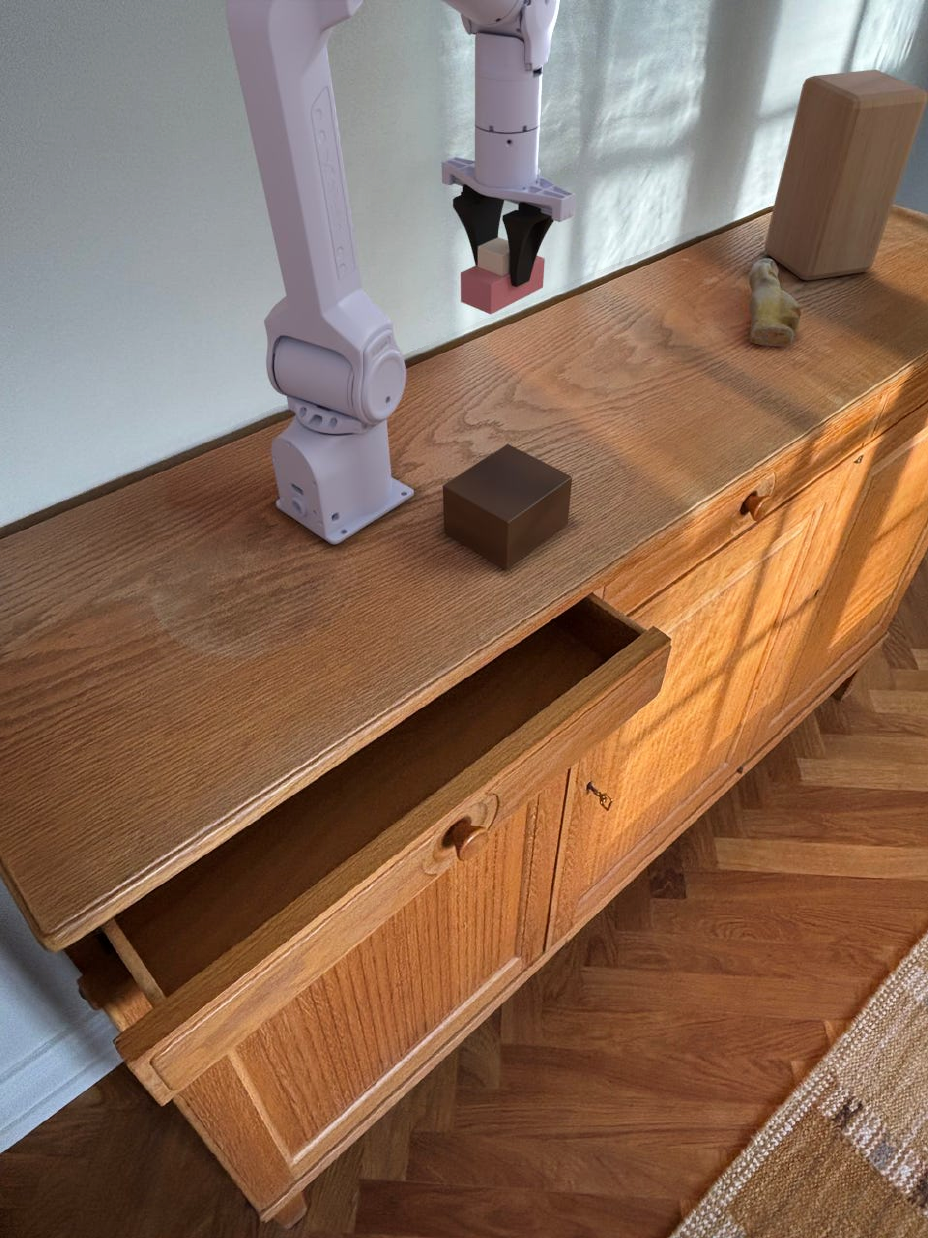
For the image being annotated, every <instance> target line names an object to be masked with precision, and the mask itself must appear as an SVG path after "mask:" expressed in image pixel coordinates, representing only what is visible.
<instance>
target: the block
mask: <svg viewBox="0 0 928 1238" xmlns="http://www.w3.org/2000/svg"><path fill="white" fill-rule="evenodd" d="M927 104H928V92H927V91H926V89H923V88H921V87H918V86H916V85H914V84H912V83H909V82H907V81H904V80H902V79H899V78H897V77H895V76H892V75H890V74H887V73H885V72H883V71H880V70H878V69H867V70H858V71H848V72H839V73H830V74H828V73H827V74H820V75H819V74H818V75H812V76H809V77H808V78H806V79H805V80H804V82H803V83H802V87H801V91H800V94H799V98H798V104H797V108H796V111H795V116H794V120H793V124H792V129H791V133H790V137H789V141H788V146H787V149H786V154H785V158H784V162H783V167H782V171H781V175H780V179H779V183H778V187H777V192H776V195H775V200H774V203H773V207H772V211H771V217H770V220H769V225H768V230H767V234H766V237H765V242H764V251H765V253H766V254H767V255H769V257H771V258H773V260H775V261H777V262H778V263H780V264H781V266H783V267H785V268H786V269H787V270H788V271H790V272H791V273H793V274H794V275H795V276H796V277H798V278H799V279H801V280H803V281H814V280H820V279H821V280H822V279H827V278H832V277H839V276H846V275H852V274H858V273H859V274H860V273H865V272H867V271H869V270H871V268H872V267H873V265H874V262H875V259H876V257H877V254H878V250H879V247H880V244H881V242H882V238H883V235H884V232H885V231H886V230H885V229H886V226H887V223H888V220H889V217H890V215H891V211H892V208H893V205H894V202H895V200H896V196H897V193H898V190H899V188H900V185H901V181H902V179H903V175H904V172H905V170H906V166H907V163H908V160H909V157H910V154H911V151H912V148H913V146H914V142H915V139H916V136H917V134H918V130H919V128H920V124H921V121H922V118H923V116H924V112H925V109H926V106H927Z"/></svg>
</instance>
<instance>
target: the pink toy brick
mask: <svg viewBox="0 0 928 1238" xmlns="http://www.w3.org/2000/svg"><path fill="white" fill-rule="evenodd" d="M545 262H546V258H545V257H542V256H540V255H537V256H536V259H535V262H534V266H533V269H532V273H531V276H530V280H529V281H528V282H526V283H524V284H522V285H520V286H518V287H515V286H512V285H511V279H510V252H509V244H508V239H504V238H501V237H499V236H498V238H495V239H493V240H491V241H489V242H487V243H484V244H482V245H480V246H478V265H474V266H471V267H470V268H467V269H465V270H463V271H461V272H460V303H463V304H465V305H468V307H469V306H470V307H471V308H474V309H477V310H479V311H482V312H484V313H486V314H489V315H492V314H495V313H497V312H498V311H499V312H500V311H501V310H502V309H505V308H506V307H508V306H510V305H512V304H514V303H516V302H518V301H520V300H522V299H524V298H525V297H527V296H530V295H532V294H533V293H535V292H537V291H539V290H541V289H543V288H544V280H545V279H544V277H545V276H544V275H545V264H546V263H545Z"/></svg>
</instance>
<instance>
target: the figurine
mask: <svg viewBox="0 0 928 1238" xmlns="http://www.w3.org/2000/svg"><path fill="white" fill-rule="evenodd" d="M749 272H750V273H749V279H748V281H749V287H750V290H751V297H750V301H749V311H750V312H749V313H750V319H751V325H750V331H749V338H748V339H749V342H750V343H752V344H755V345H759V346H767V347H786V346H789V345H790V344H791V343H792V342H793V340H794V338H795V335H796V333H797V331H798V328H799V326H800V322H801V316H802V309H801V306H800V305H799V303H798V302H797V301H796V299H795V298H794V297H793V296H791V294H789V293H788V292H786V291H784V290H783V289H782V288H781V283H780V280H779V277H778V276H779V273H780V269H779V268H778V266H777V264H776V262H775V261H774V259H772V258H766V257H765V258H761V259H759V260H757V261H756V262H754V264H753V265H752V267H751V269H750V271H749Z"/></svg>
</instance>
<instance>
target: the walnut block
mask: <svg viewBox="0 0 928 1238" xmlns="http://www.w3.org/2000/svg"><path fill="white" fill-rule="evenodd" d="M572 486H573V476H572V475H570V474H568V473H566V472H564V471H563V470H560V469H558V468H556V467H554V466H553V465H550V464H548V463H546V462H544V461H543V460H541V459H538V458H537V457H535V456H533V455H531V454H529V453H527V452H525V451H523V450H521V449H519V448H517V447H515V446H514V445H511V444H509V443H506V444H505V445H503V446H502V447H500V448H499V449H497V450H495V451H493V452H492V453H490V454H489V455H488V456H486V457H485V458H483V459H481V460H480V461H478V462H477V463H475V464H474V465H472V466H470V467H469V468H467V469H466V470H464V471H463V472H461V473H460V474H458V475H456V476H455V477H453V478H452V479H450V480H449V481H447V482H446V483H444V484H442V513H443V515H442V516H443V533H444V534H445V535H447V536H448V537H450V538H452V540H455V541H456V542H458V543H460V544H461V545H463V546H465V547H466V548H468V549H470V550H471V551H473V552H474V553H476V554H478V555H479V556H481V557H483V558H484V559H486V560H488V561H489V562H492V564H494V565H495V566H497V567H499V568H501V569H502V570H505V571H508V570H510V569H511V568H512V567H513V566H515V565H516V564H517V563H519V562H520V561H521V560H522V559H524V558H525V557H526V556H528V555H529V554H531V553H532V552H533V551H534V550H535V549H537V548H539V547H540V546H541V545H542V544H544V543H545V542H546V541H548V540H549V539H551V538H552V537H553V536H554V535H556V534H557V533H558V532H560V531H561V530H563V529H564V528H565V527H566V526H568V524H569V518H570V517H569V516H570V507H571V504H570V503H571V496H572V495H571V494H572Z"/></svg>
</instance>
